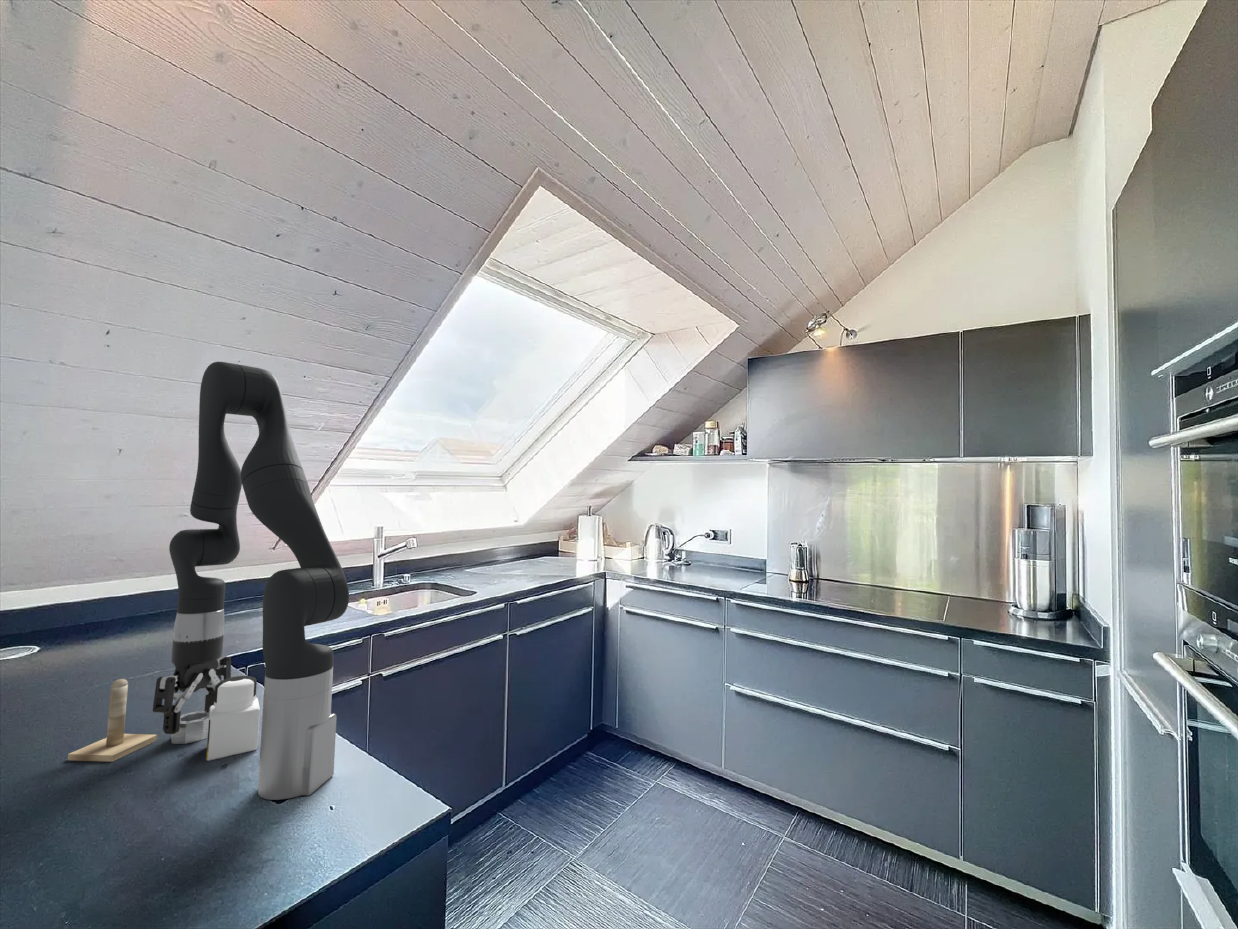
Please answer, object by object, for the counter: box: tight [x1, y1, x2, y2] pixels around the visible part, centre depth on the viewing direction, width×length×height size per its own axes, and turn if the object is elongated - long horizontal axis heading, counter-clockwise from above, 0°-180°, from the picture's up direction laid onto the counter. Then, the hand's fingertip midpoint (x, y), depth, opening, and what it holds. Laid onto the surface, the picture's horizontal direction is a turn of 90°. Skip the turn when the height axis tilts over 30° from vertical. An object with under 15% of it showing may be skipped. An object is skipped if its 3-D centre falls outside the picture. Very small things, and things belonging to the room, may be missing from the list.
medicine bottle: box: [206, 675, 261, 761], centre depth 93 cm, size 7×7×12 cm
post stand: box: [67, 678, 158, 762], centre depth 92 cm, size 8×8×12 cm
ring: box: [170, 710, 210, 745], centre depth 97 cm, size 6×6×4 cm
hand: (192, 723), depth 97 cm, fingers open, 8 cm apart
